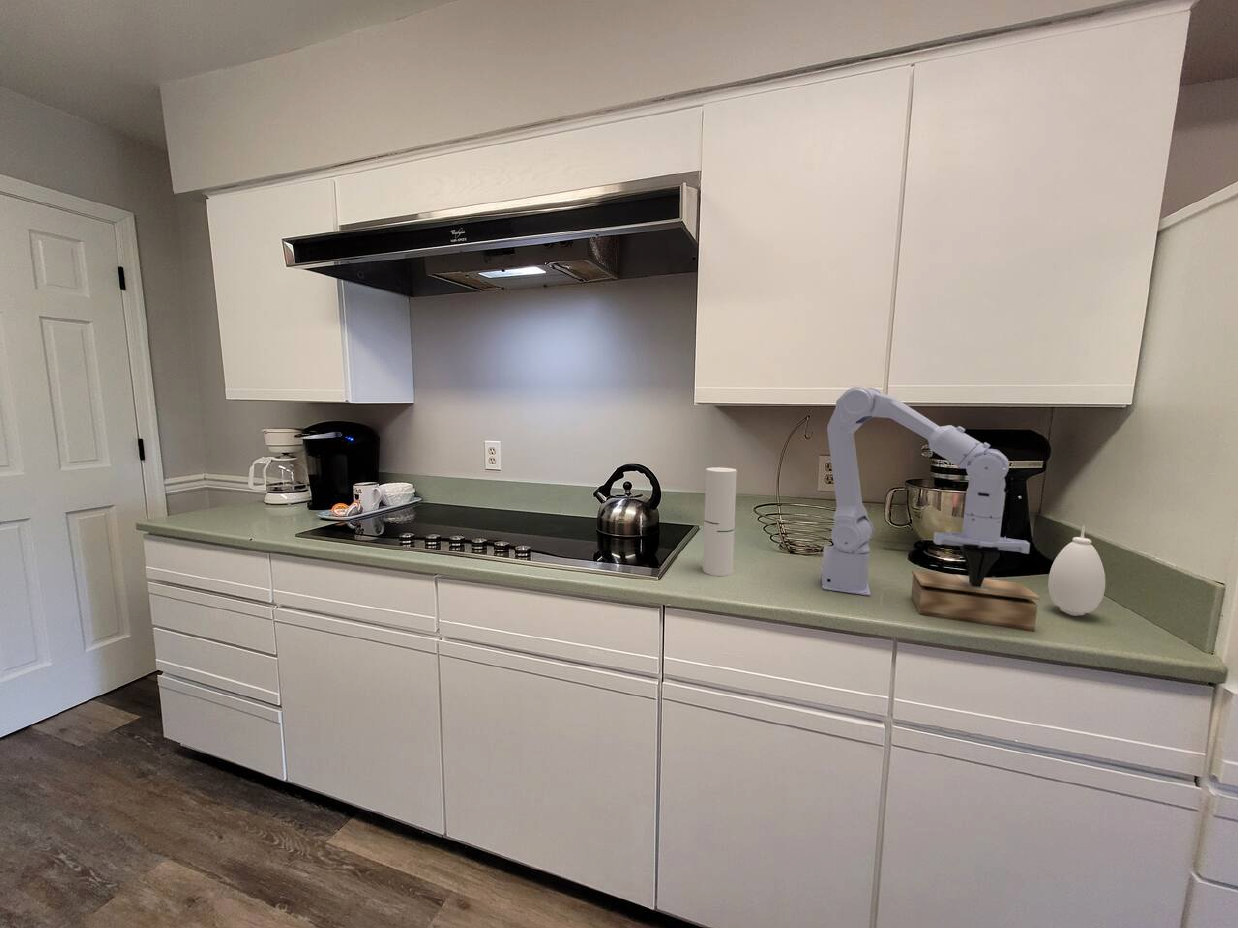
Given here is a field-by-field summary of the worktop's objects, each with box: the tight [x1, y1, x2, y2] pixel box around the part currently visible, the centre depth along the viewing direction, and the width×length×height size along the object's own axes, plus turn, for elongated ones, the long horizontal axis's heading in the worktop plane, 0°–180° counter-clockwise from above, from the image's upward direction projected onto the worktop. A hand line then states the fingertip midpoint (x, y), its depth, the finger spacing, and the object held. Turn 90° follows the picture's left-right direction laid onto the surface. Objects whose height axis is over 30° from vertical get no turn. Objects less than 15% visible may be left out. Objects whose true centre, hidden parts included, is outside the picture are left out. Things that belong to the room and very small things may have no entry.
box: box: [910, 574, 1038, 632], centre depth 95 cm, size 18×9×5 cm, turn 68°
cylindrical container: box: [702, 467, 738, 577], centre depth 116 cm, size 7×7×25 cm
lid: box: [911, 569, 1041, 601], centre depth 95 cm, size 18×10×1 cm, turn 68°
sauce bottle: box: [1047, 524, 1106, 617], centre depth 94 cm, size 8×8×18 cm
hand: (975, 584), depth 92 cm, fingers closed
